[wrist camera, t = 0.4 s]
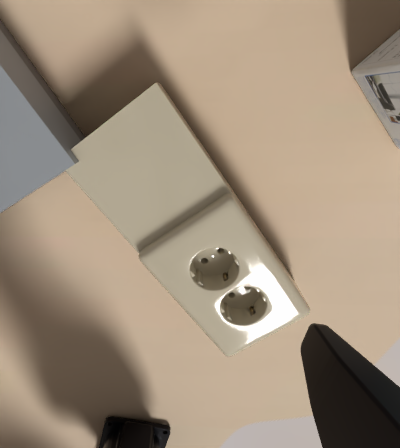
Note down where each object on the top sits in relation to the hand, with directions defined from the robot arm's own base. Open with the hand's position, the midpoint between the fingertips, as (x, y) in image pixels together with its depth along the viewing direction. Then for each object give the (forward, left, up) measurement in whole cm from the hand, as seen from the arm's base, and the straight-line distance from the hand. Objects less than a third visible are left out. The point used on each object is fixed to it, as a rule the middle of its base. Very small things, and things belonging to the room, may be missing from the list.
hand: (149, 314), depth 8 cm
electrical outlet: (-3, -2, -15) cm, 15 cm away
